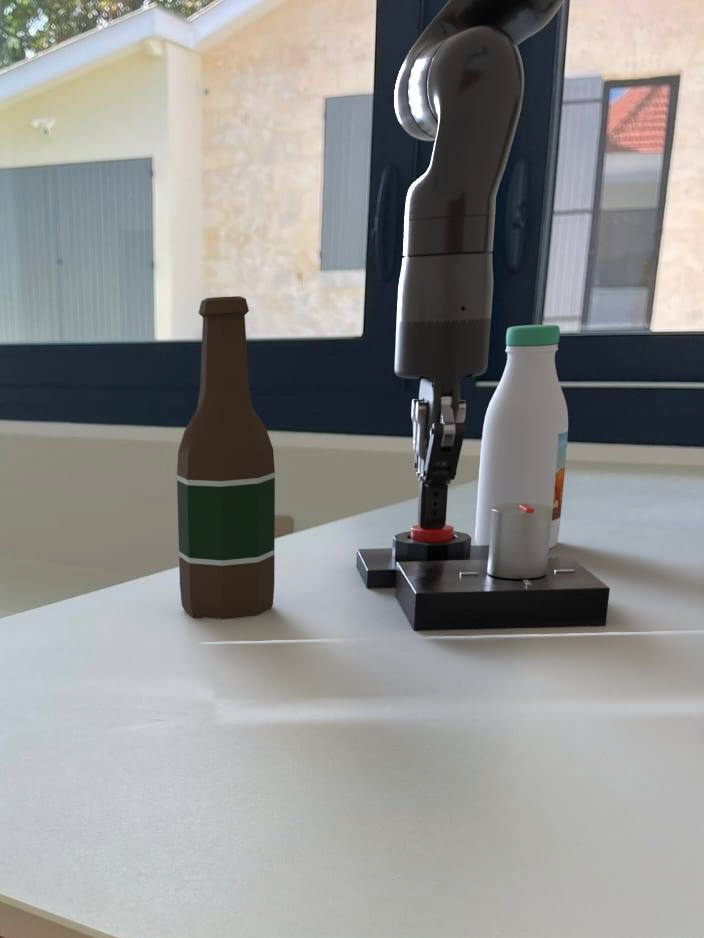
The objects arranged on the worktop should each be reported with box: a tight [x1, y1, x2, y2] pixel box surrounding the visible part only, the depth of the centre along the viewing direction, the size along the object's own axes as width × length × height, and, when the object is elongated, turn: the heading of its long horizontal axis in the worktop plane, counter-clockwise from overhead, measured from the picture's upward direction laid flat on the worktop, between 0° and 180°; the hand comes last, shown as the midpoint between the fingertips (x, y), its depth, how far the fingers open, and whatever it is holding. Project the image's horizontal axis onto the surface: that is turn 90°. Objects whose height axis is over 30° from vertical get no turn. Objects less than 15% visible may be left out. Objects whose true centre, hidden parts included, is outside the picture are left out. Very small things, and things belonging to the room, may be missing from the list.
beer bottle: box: [176, 295, 276, 620], centre depth 97 cm, size 8×8×24 cm
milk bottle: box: [474, 324, 569, 550], centre depth 115 cm, size 8×8×20 cm
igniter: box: [355, 530, 489, 590], centre depth 108 cm, size 12×9×4 cm
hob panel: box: [394, 556, 611, 632], centre depth 96 cm, size 14×11×3 cm
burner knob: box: [487, 503, 553, 579], centre depth 94 cm, size 4×4×5 cm
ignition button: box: [410, 524, 455, 542], centre depth 107 cm, size 4×4×2 cm
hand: (431, 527), depth 107 cm, fingers closed
